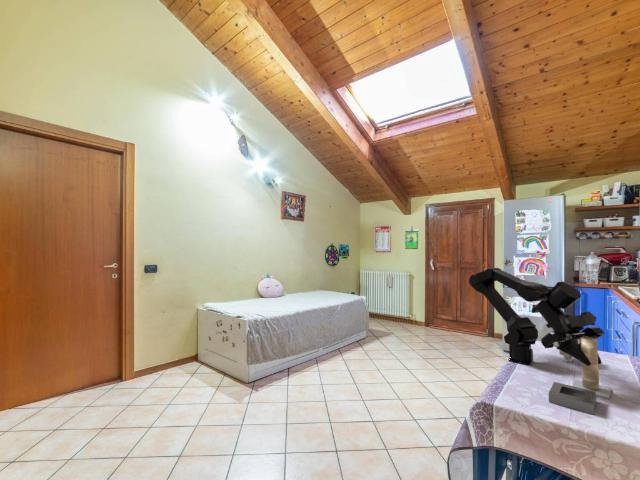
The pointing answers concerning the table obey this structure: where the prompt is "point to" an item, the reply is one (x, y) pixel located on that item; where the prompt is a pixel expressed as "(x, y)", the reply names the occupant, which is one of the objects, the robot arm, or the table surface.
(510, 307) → the robot arm
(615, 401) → the table surface
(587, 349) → the peg
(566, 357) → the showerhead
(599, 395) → the mat
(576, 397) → the eye block
